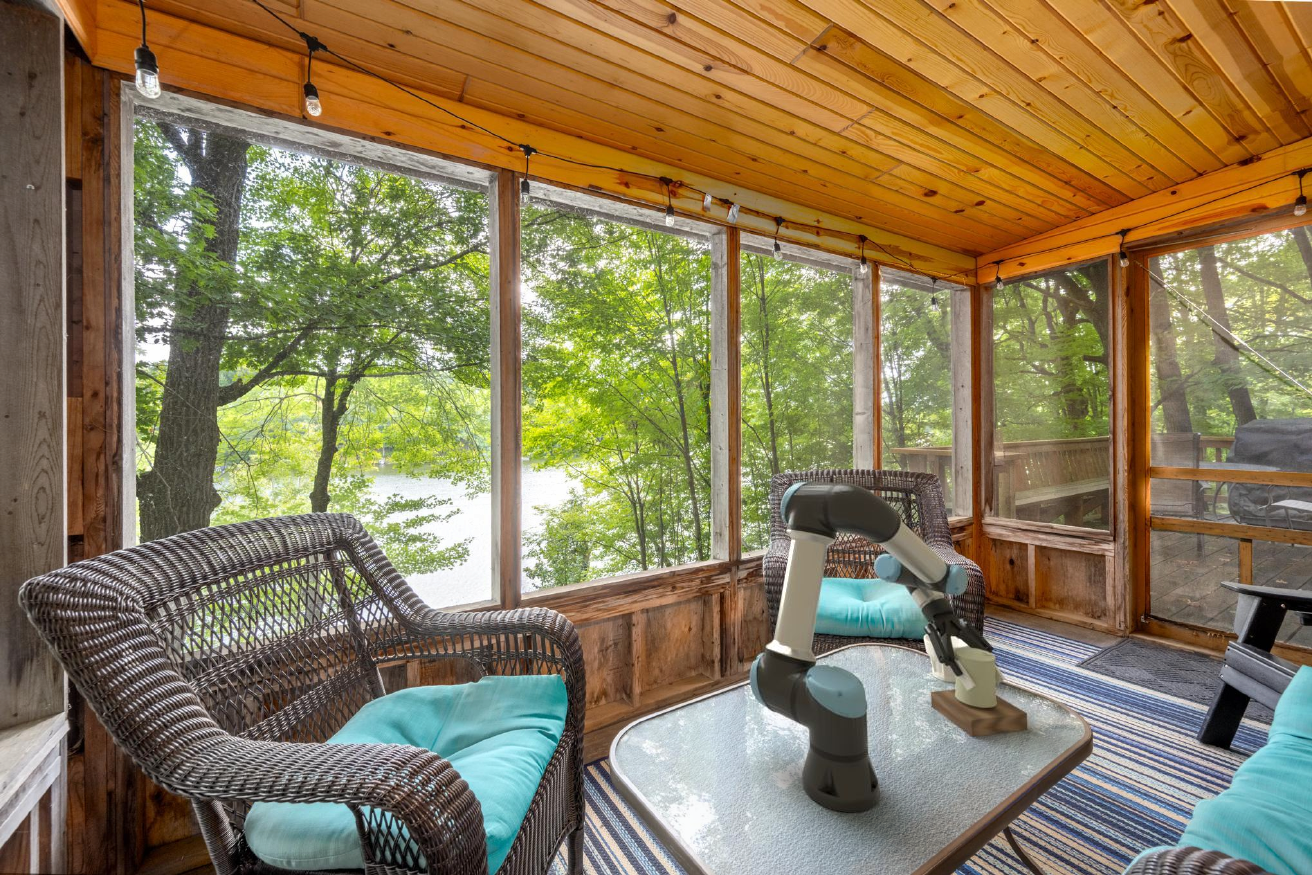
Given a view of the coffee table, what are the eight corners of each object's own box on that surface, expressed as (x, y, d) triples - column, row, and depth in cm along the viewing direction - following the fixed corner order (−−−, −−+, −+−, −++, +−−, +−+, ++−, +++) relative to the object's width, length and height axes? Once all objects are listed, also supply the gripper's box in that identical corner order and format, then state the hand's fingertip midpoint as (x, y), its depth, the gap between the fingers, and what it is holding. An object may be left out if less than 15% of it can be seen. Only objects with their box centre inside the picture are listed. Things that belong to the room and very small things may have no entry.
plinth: (972, 736, 129) (971, 719, 129) (931, 706, 143) (930, 691, 144) (1027, 729, 131) (1026, 713, 131) (982, 700, 146) (981, 686, 146)
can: (1003, 709, 132) (1002, 660, 132) (962, 706, 134) (961, 657, 134) (988, 692, 141) (987, 646, 141) (949, 689, 143) (948, 644, 143)
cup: (922, 665, 169) (920, 630, 169) (967, 669, 165) (965, 633, 165) (928, 683, 157) (926, 645, 157) (976, 687, 153) (974, 648, 153)
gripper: (955, 605, 155) (1009, 683, 140) (894, 615, 149) (944, 698, 133) (970, 591, 150) (1028, 670, 135) (908, 601, 144) (961, 686, 128)
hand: (986, 684), depth 134 cm, fingers open, 9 cm apart
